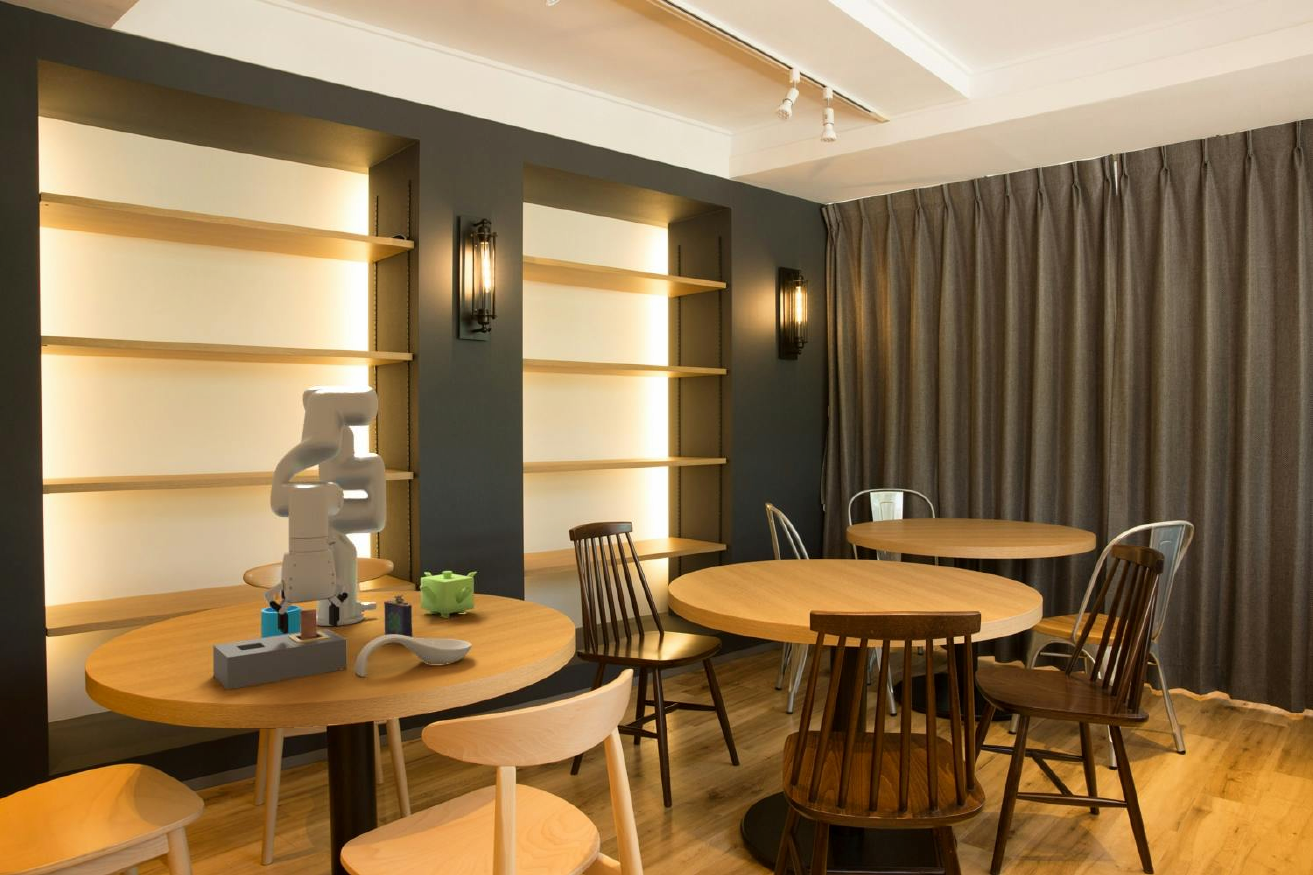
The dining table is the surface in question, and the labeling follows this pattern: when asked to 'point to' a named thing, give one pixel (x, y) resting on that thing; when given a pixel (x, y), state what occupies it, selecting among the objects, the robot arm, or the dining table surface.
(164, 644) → the dining table surface
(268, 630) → the mug
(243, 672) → the bore block
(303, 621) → the pin
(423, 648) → the spoon rest
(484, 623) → the dining table surface
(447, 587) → the green block with protrusions
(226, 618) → the dining table surface
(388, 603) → the flask
